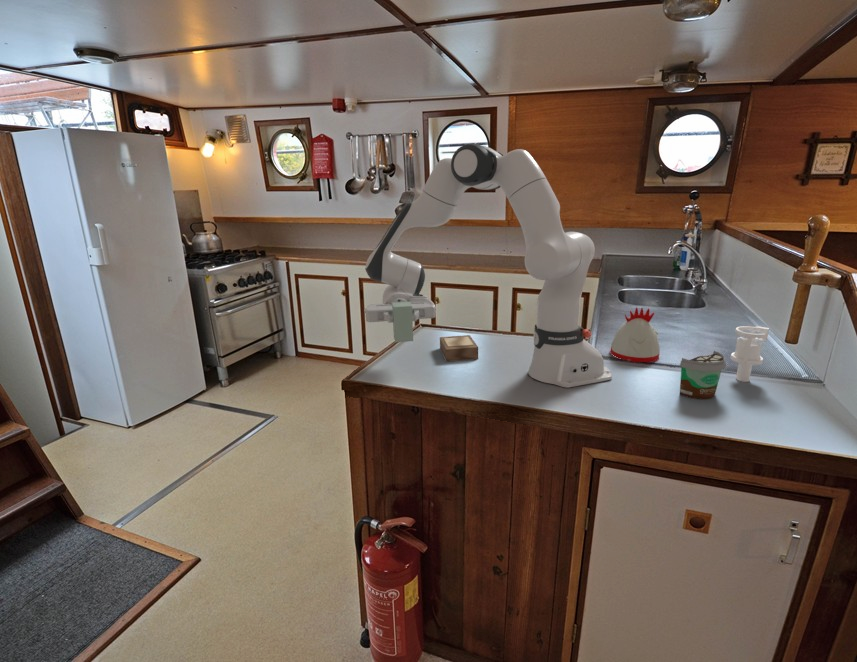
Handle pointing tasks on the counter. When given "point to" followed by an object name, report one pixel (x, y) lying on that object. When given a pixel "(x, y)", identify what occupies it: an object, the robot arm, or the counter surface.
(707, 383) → the food container
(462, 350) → the build plinth
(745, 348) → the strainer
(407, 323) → the pillar block
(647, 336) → the kitchen timer
